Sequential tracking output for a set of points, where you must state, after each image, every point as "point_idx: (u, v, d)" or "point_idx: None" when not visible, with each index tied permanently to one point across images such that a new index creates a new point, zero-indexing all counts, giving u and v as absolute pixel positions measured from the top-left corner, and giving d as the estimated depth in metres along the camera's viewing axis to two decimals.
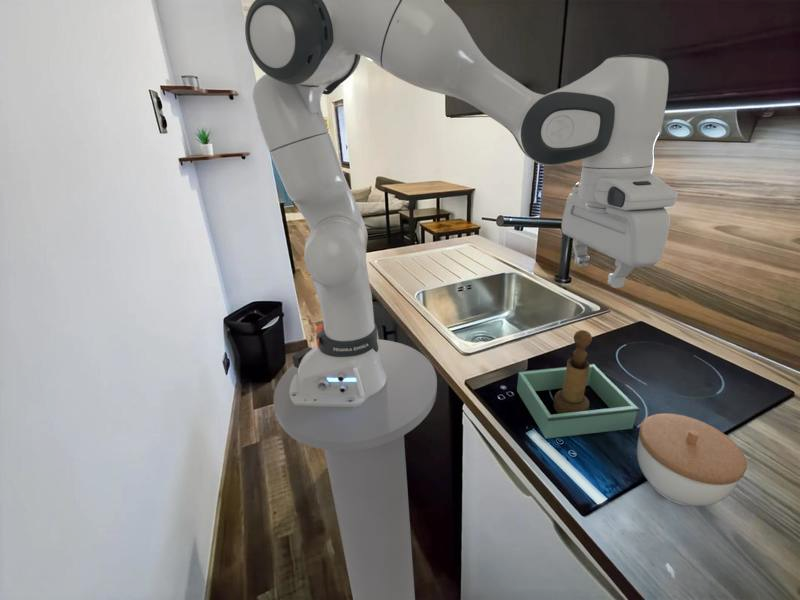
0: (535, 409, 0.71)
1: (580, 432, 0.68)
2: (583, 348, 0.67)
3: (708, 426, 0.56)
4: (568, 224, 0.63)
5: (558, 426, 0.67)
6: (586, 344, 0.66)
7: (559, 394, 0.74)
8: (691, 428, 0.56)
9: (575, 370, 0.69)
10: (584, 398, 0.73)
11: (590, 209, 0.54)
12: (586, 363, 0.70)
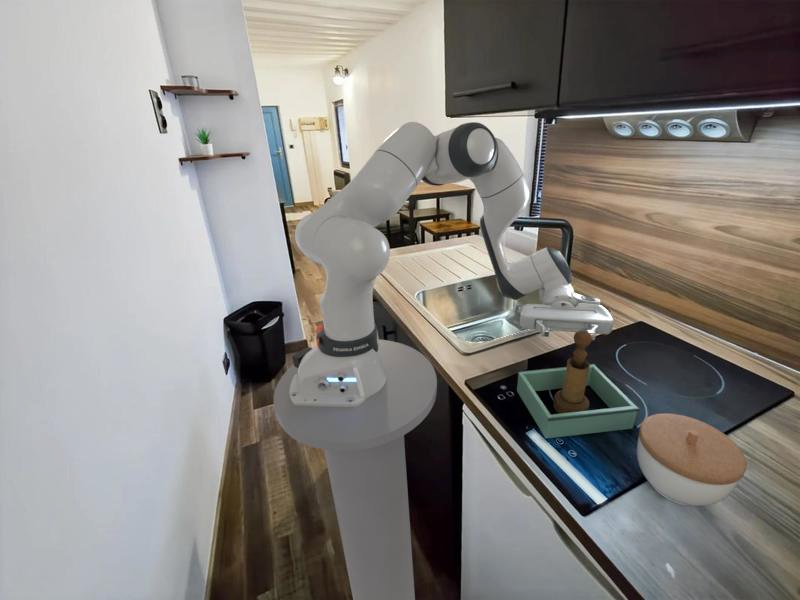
0: (535, 409, 0.71)
1: (580, 432, 0.68)
2: (583, 348, 0.67)
3: (708, 426, 0.56)
4: (531, 312, 0.88)
5: (558, 426, 0.67)
6: (586, 344, 0.66)
7: (559, 394, 0.74)
8: (691, 428, 0.56)
9: (575, 370, 0.69)
10: (584, 398, 0.73)
11: (565, 302, 0.89)
12: (586, 363, 0.70)
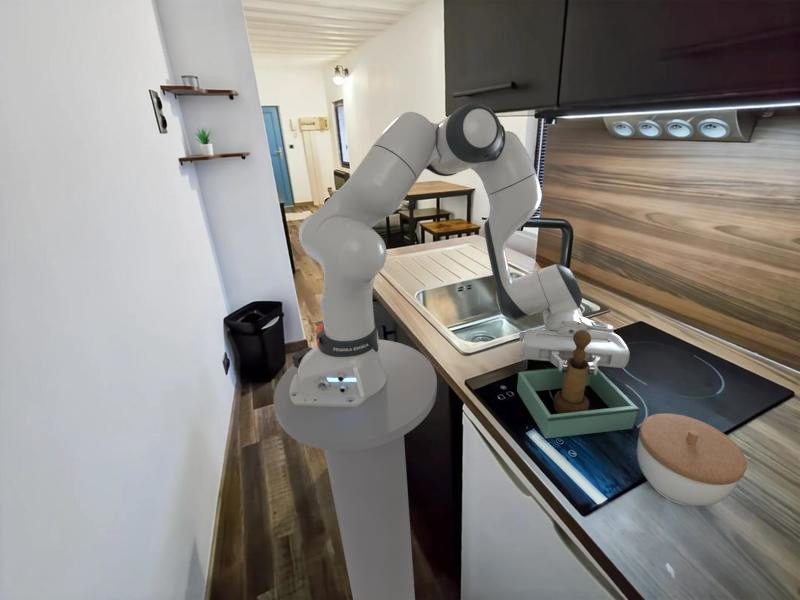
0: (535, 409, 0.71)
1: (580, 432, 0.68)
2: (582, 348, 0.67)
3: (708, 426, 0.56)
4: (535, 340, 0.77)
5: (558, 426, 0.67)
6: (585, 344, 0.67)
7: (559, 394, 0.74)
8: (691, 428, 0.56)
9: (575, 370, 0.69)
10: (584, 398, 0.73)
11: (573, 329, 0.78)
12: (586, 362, 0.70)
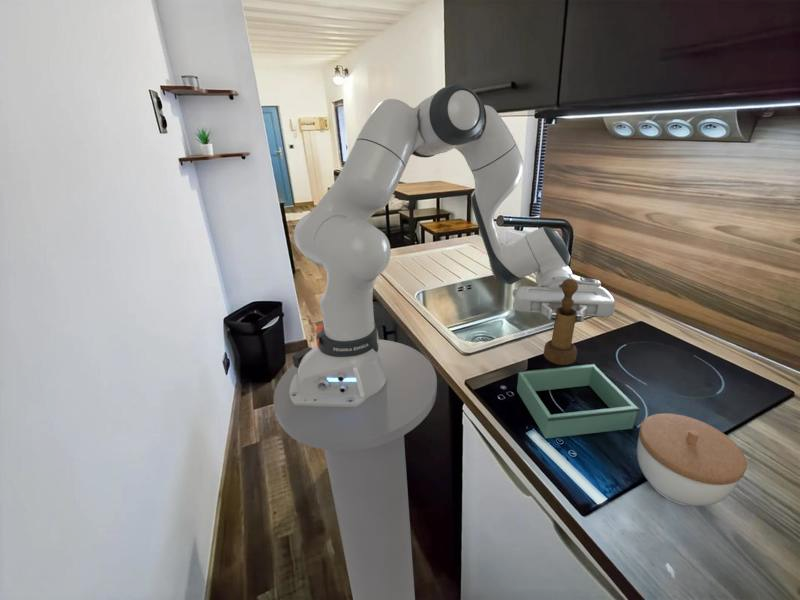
0: (535, 409, 0.71)
1: (580, 432, 0.68)
2: (570, 295, 0.72)
3: (708, 426, 0.56)
4: (527, 294, 0.81)
5: (558, 426, 0.67)
6: (572, 291, 0.71)
7: (549, 343, 0.79)
8: (691, 428, 0.56)
9: (563, 317, 0.74)
10: (572, 345, 0.78)
11: None
12: (573, 311, 0.75)
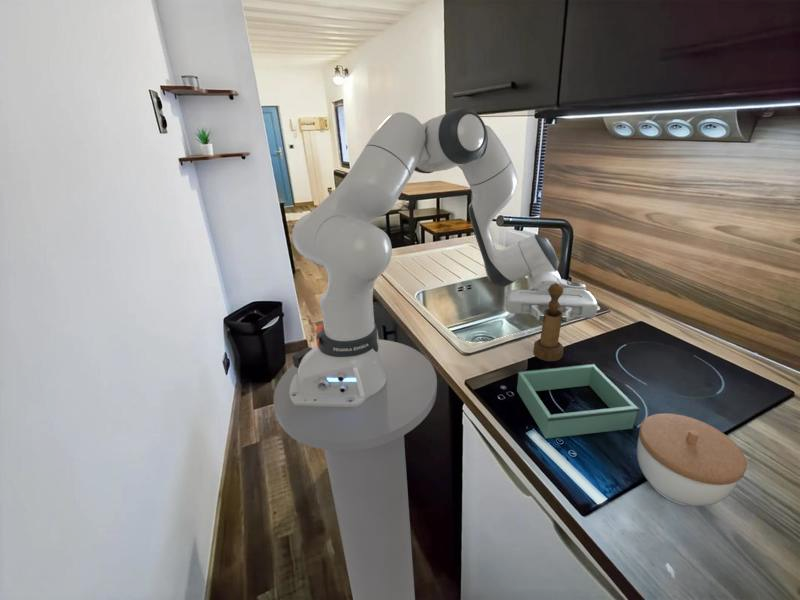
0: (535, 409, 0.71)
1: (580, 432, 0.68)
2: (556, 298, 0.80)
3: (708, 426, 0.56)
4: (518, 297, 0.89)
5: (558, 426, 0.67)
6: (558, 294, 0.79)
7: (538, 341, 0.87)
8: (691, 428, 0.56)
9: (550, 318, 0.81)
10: (559, 344, 0.85)
11: None
12: (559, 312, 0.82)
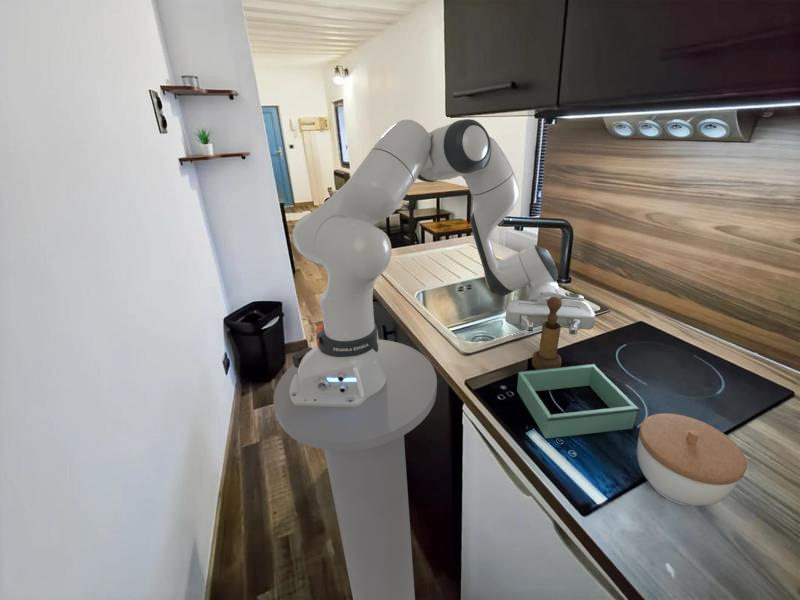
0: (535, 409, 0.71)
1: (580, 432, 0.68)
2: (555, 311, 0.81)
3: (708, 426, 0.56)
4: (517, 308, 0.90)
5: (558, 426, 0.67)
6: (557, 308, 0.80)
7: (536, 353, 0.88)
8: (691, 428, 0.56)
9: (548, 330, 0.82)
10: (557, 355, 0.86)
11: None
12: (558, 325, 0.84)
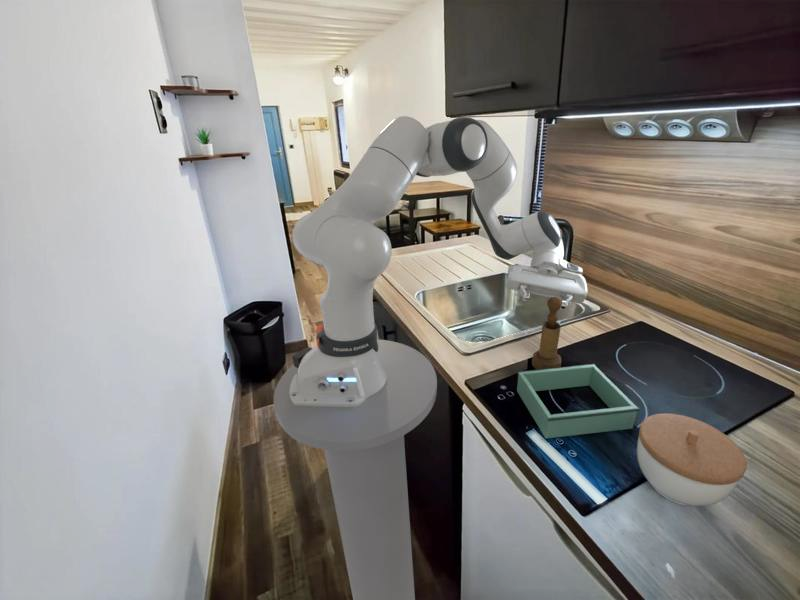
0: (535, 409, 0.71)
1: (580, 432, 0.68)
2: (554, 311, 0.81)
3: (708, 426, 0.56)
4: (518, 276, 0.98)
5: (558, 426, 0.67)
6: (557, 308, 0.80)
7: (536, 353, 0.88)
8: (691, 428, 0.56)
9: (548, 330, 0.82)
10: (557, 355, 0.86)
11: (551, 268, 0.98)
12: (558, 325, 0.84)
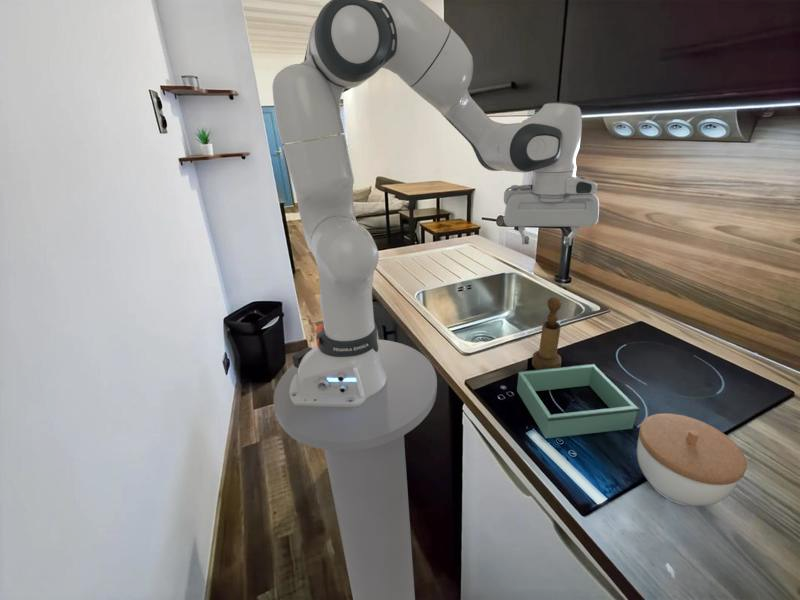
0: (535, 409, 0.71)
1: (580, 432, 0.68)
2: (555, 311, 0.81)
3: (708, 426, 0.56)
4: (515, 217, 0.85)
5: (558, 426, 0.67)
6: (557, 308, 0.80)
7: (536, 353, 0.88)
8: (691, 428, 0.56)
9: (548, 330, 0.82)
10: (557, 355, 0.86)
11: (554, 200, 0.80)
12: (558, 325, 0.84)
